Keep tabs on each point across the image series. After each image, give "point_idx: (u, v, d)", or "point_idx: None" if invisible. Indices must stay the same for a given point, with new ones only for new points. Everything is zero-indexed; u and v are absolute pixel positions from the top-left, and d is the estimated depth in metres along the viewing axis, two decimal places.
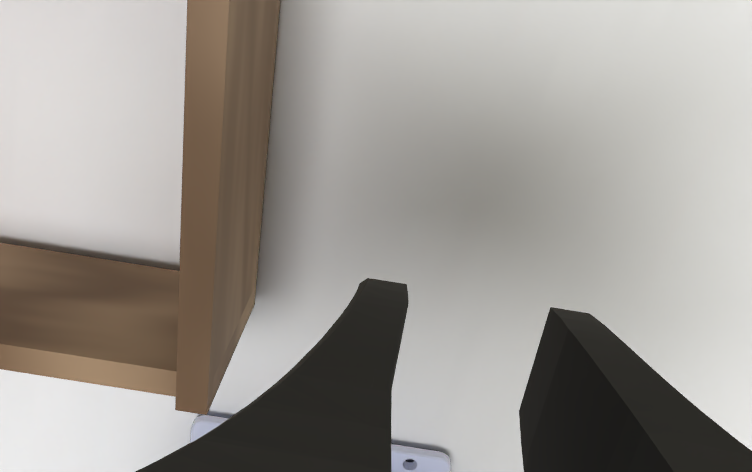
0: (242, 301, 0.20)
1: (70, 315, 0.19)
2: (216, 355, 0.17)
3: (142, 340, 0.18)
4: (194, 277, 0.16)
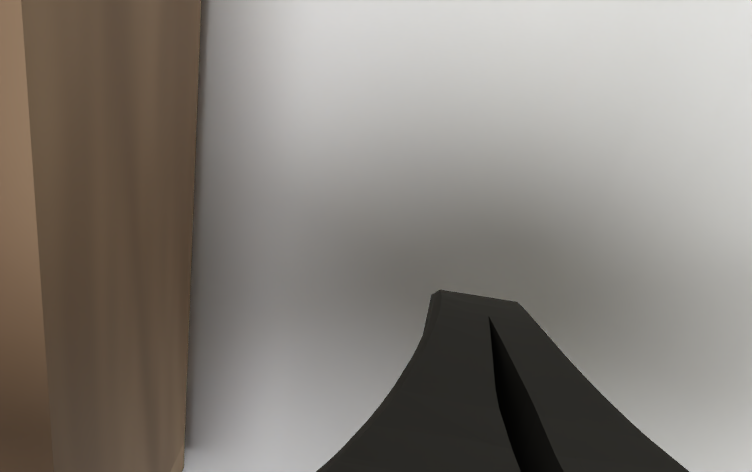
0: None
1: None
2: None
3: None
4: None
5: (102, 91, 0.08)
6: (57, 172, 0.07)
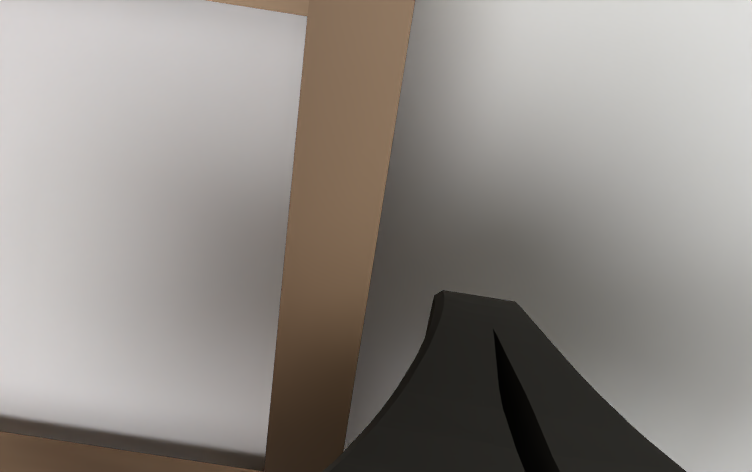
0: None
1: None
2: None
3: None
4: None
5: None
6: None
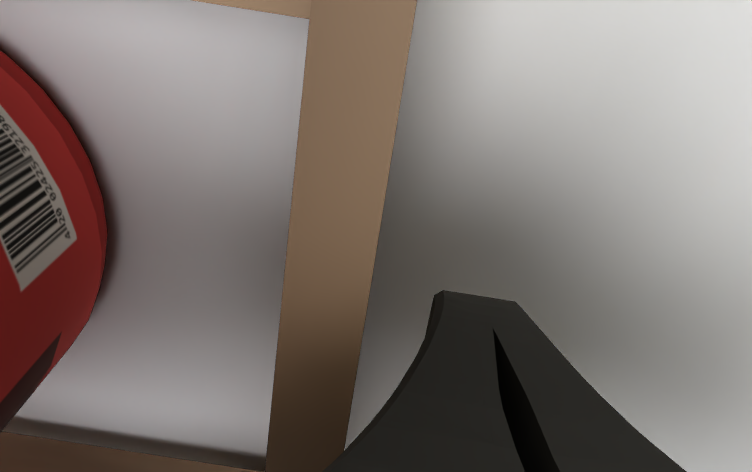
0: None
1: None
2: None
3: None
4: None
5: None
6: None
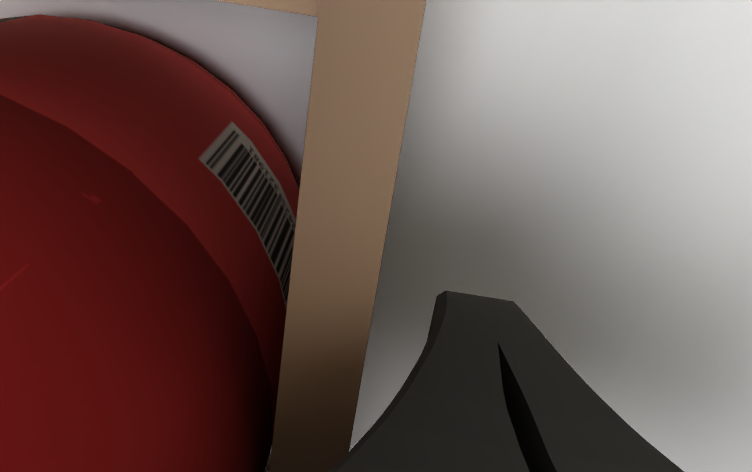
0: None
1: None
2: None
3: None
4: None
5: None
6: None
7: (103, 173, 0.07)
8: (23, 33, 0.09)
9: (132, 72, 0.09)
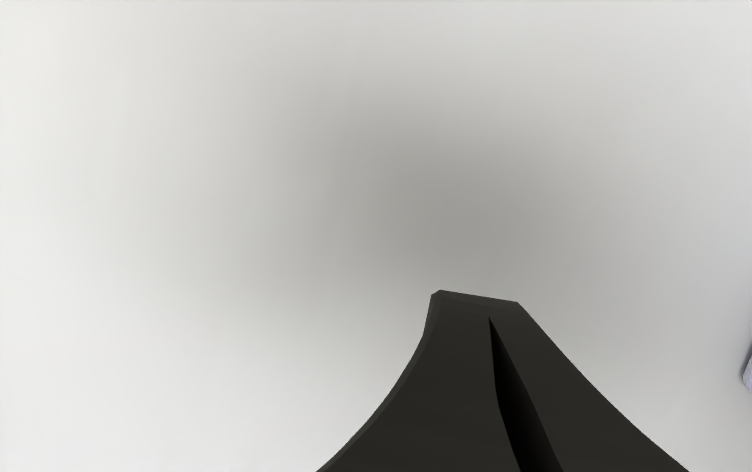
0: None
1: None
2: None
3: None
4: None
5: None
6: None
7: None
8: None
9: None
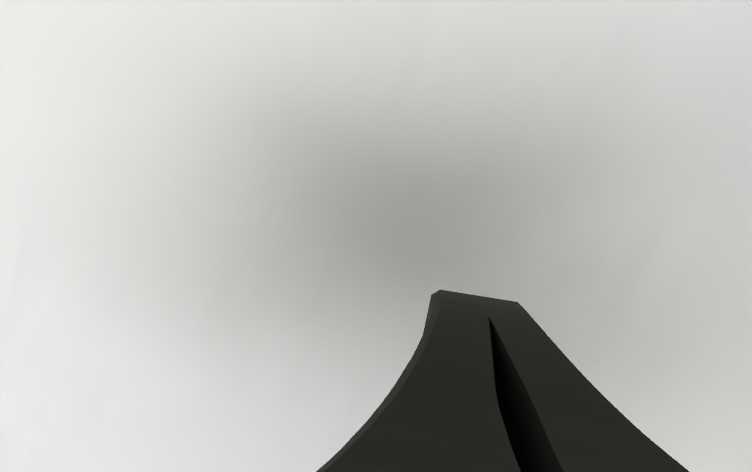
0: None
1: None
2: None
3: None
4: None
5: None
6: None
7: None
8: None
9: None
